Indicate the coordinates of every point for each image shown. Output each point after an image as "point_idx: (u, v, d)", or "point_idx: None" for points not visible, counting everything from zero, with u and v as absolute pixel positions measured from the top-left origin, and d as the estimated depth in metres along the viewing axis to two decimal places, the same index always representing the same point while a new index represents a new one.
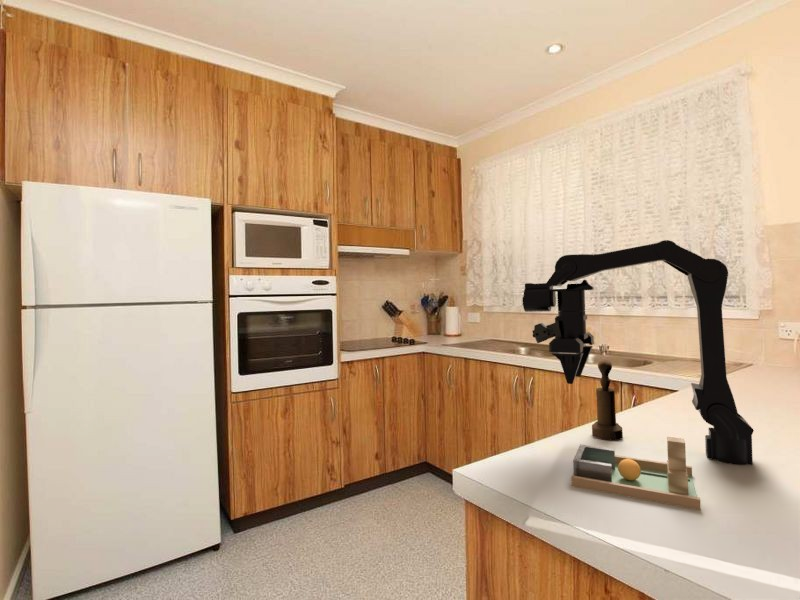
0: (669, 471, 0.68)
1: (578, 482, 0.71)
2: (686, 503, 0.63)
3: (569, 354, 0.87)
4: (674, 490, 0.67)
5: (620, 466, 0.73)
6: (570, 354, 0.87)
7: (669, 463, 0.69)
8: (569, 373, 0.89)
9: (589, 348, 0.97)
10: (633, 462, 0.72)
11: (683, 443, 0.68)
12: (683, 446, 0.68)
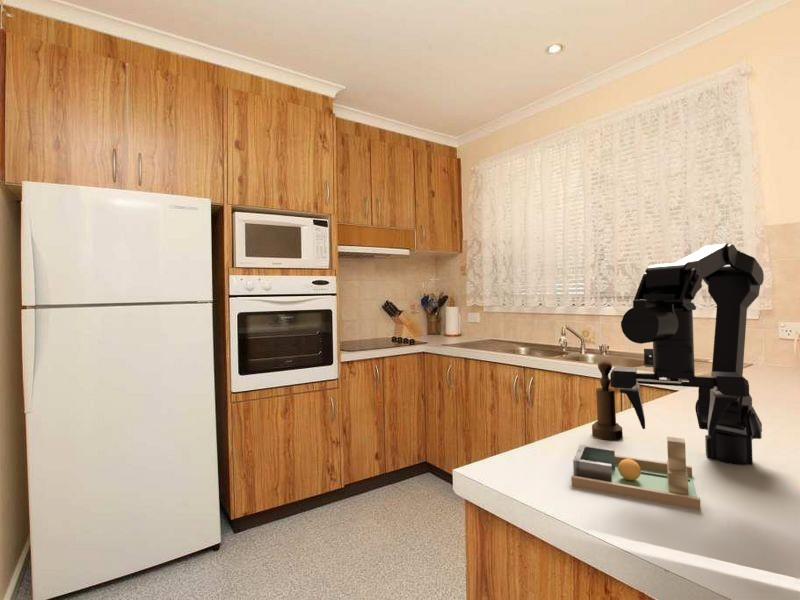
0: (669, 471, 0.68)
1: (578, 482, 0.71)
2: (686, 503, 0.63)
3: None
4: (674, 490, 0.67)
5: (620, 466, 0.73)
6: None
7: (669, 463, 0.69)
8: None
9: (714, 398, 0.65)
10: (633, 462, 0.72)
11: (683, 443, 0.68)
12: (683, 446, 0.68)
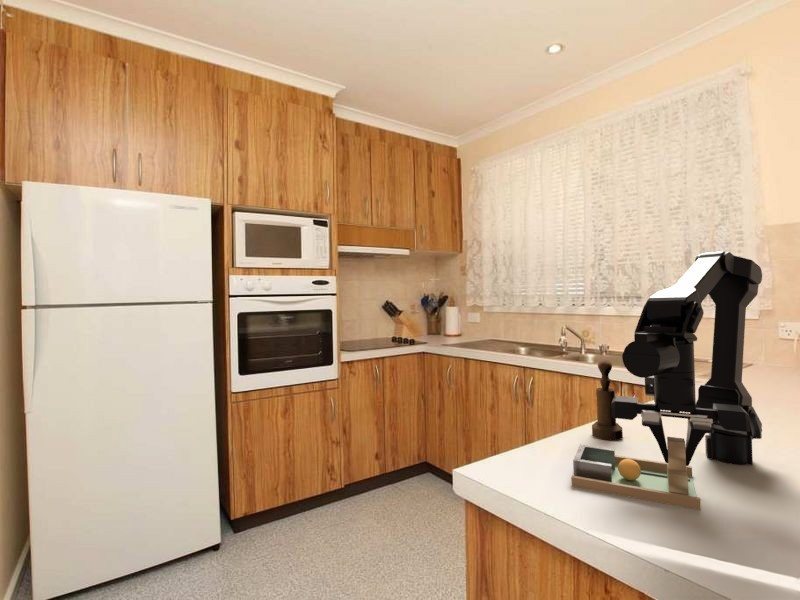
0: (669, 471, 0.68)
1: (578, 482, 0.71)
2: (686, 503, 0.63)
3: (642, 420, 0.71)
4: (674, 490, 0.67)
5: (620, 466, 0.73)
6: (642, 420, 0.71)
7: (669, 463, 0.69)
8: None
9: (690, 429, 0.66)
10: (633, 462, 0.72)
11: (683, 443, 0.68)
12: (683, 446, 0.68)
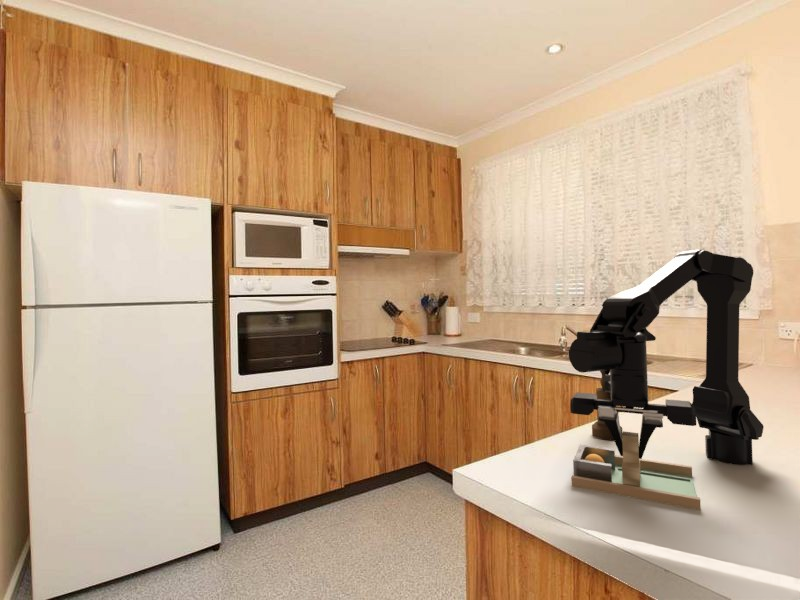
0: (623, 464, 0.72)
1: (578, 482, 0.71)
2: (686, 503, 0.63)
3: None
4: (627, 482, 0.71)
5: None
6: (598, 416, 0.74)
7: (623, 456, 0.72)
8: None
9: (642, 424, 0.70)
10: None
11: (636, 437, 0.71)
12: (636, 440, 0.71)
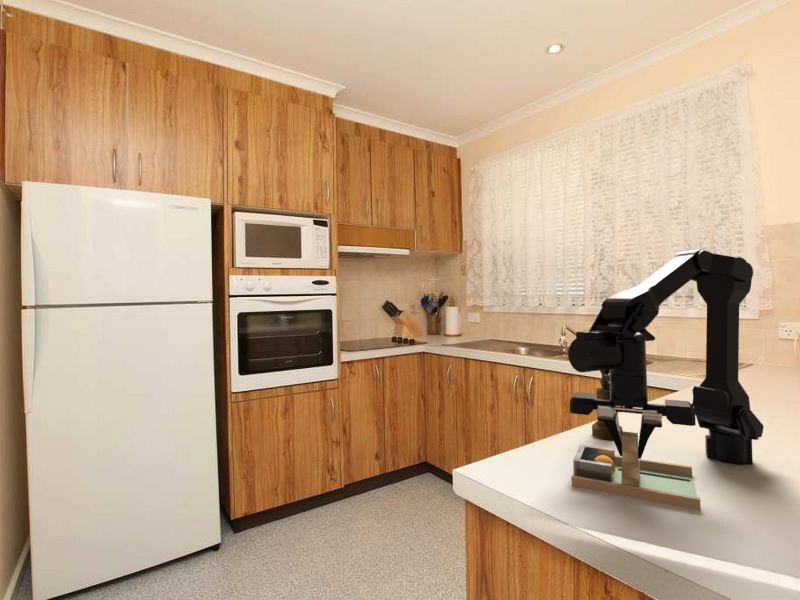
0: (622, 464, 0.72)
1: (578, 482, 0.71)
2: (686, 503, 0.63)
3: (598, 415, 0.75)
4: (626, 482, 0.71)
5: None
6: (598, 415, 0.75)
7: (623, 456, 0.72)
8: None
9: (641, 424, 0.70)
10: None
11: (635, 437, 0.71)
12: (635, 440, 0.71)
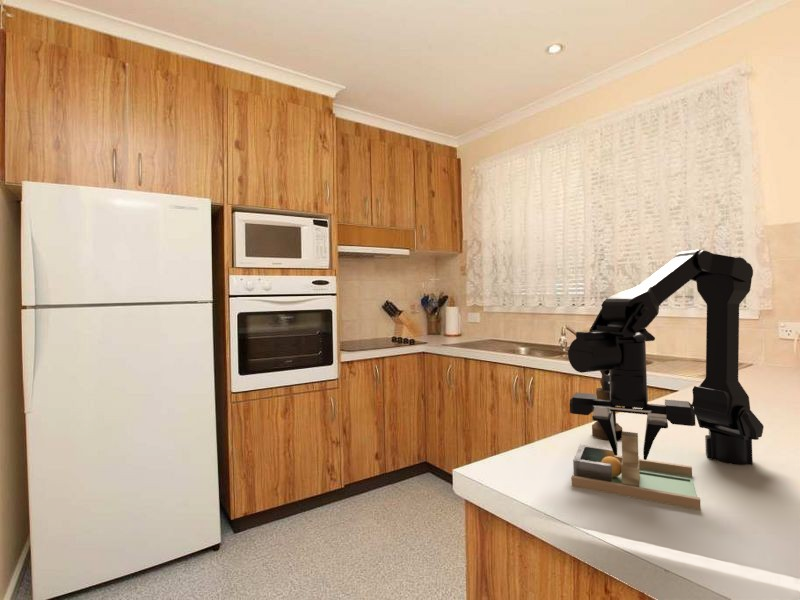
0: (622, 464, 0.72)
1: (578, 482, 0.71)
2: (686, 503, 0.63)
3: None
4: (626, 482, 0.71)
5: None
6: None
7: (623, 456, 0.72)
8: None
9: (647, 425, 0.69)
10: (601, 462, 0.75)
11: (635, 437, 0.71)
12: (635, 440, 0.71)
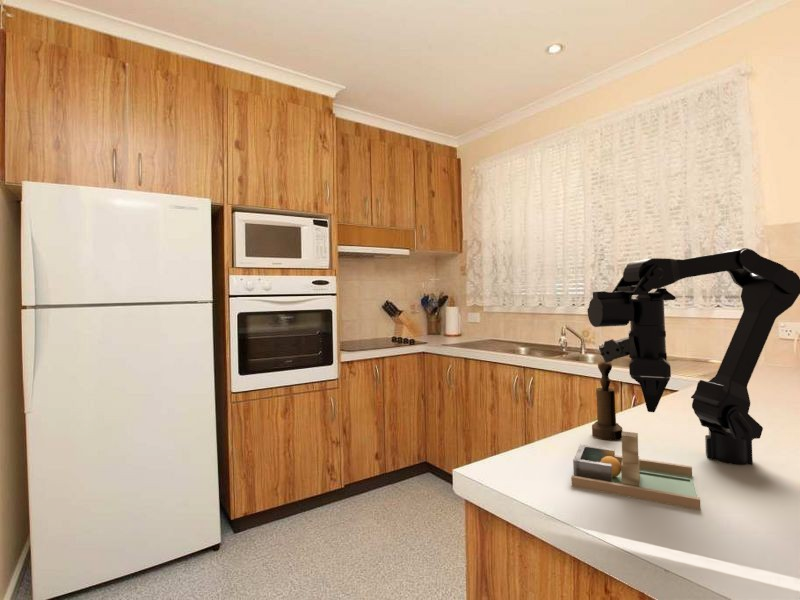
0: (622, 464, 0.72)
1: (578, 482, 0.71)
2: (686, 503, 0.63)
3: (655, 378, 0.73)
4: (626, 482, 0.71)
5: None
6: (656, 378, 0.73)
7: (623, 456, 0.72)
8: (651, 400, 0.75)
9: None
10: None
11: (635, 437, 0.71)
12: (635, 440, 0.71)
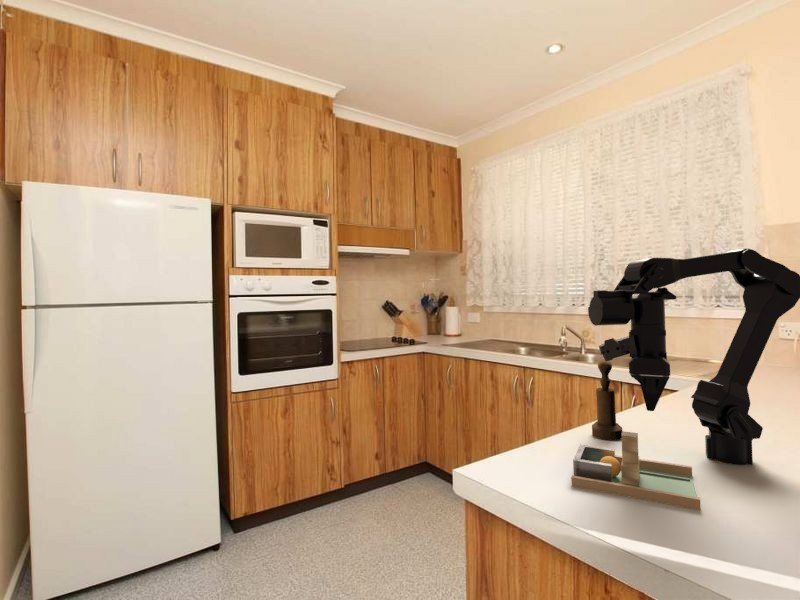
0: (622, 464, 0.72)
1: (578, 482, 0.71)
2: (686, 503, 0.63)
3: (654, 377, 0.73)
4: (626, 482, 0.71)
5: None
6: (656, 377, 0.73)
7: (623, 456, 0.72)
8: (651, 398, 0.75)
9: None
10: None
11: (635, 437, 0.71)
12: (635, 440, 0.71)
